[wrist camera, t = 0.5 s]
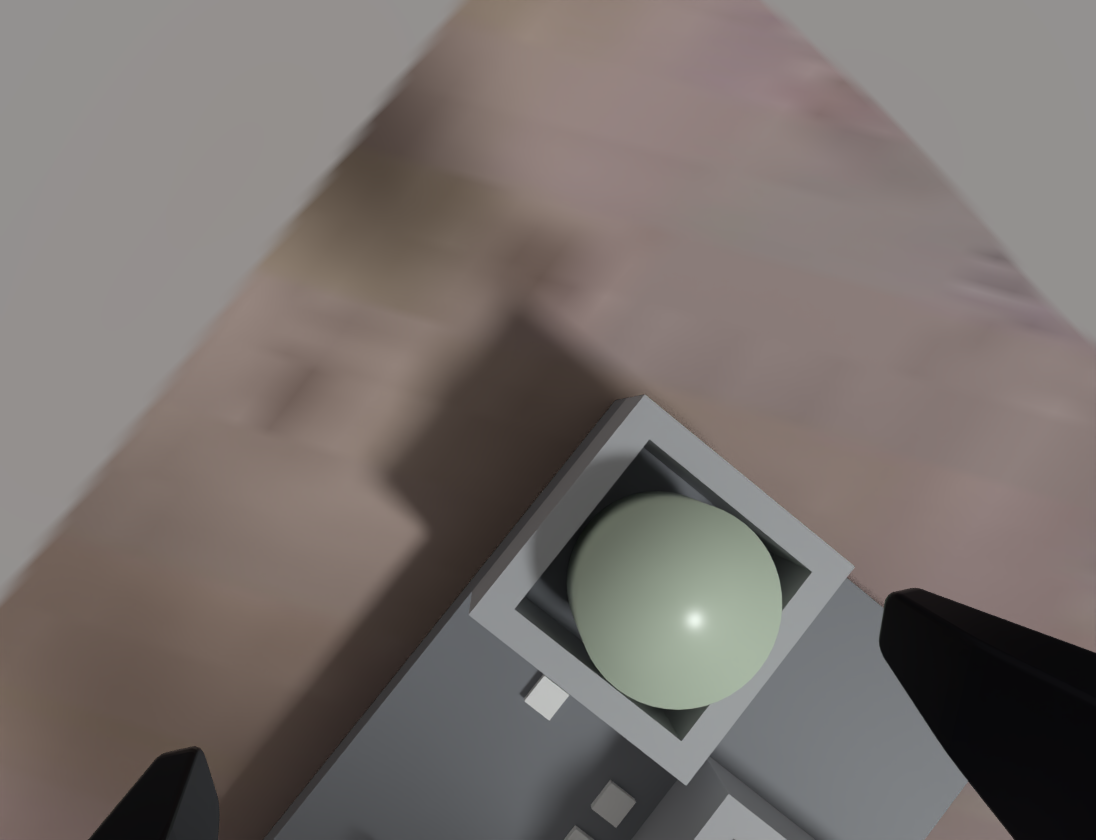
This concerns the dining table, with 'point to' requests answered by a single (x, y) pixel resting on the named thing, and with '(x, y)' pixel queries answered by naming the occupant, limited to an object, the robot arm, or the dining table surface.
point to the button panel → (621, 722)
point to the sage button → (673, 599)
